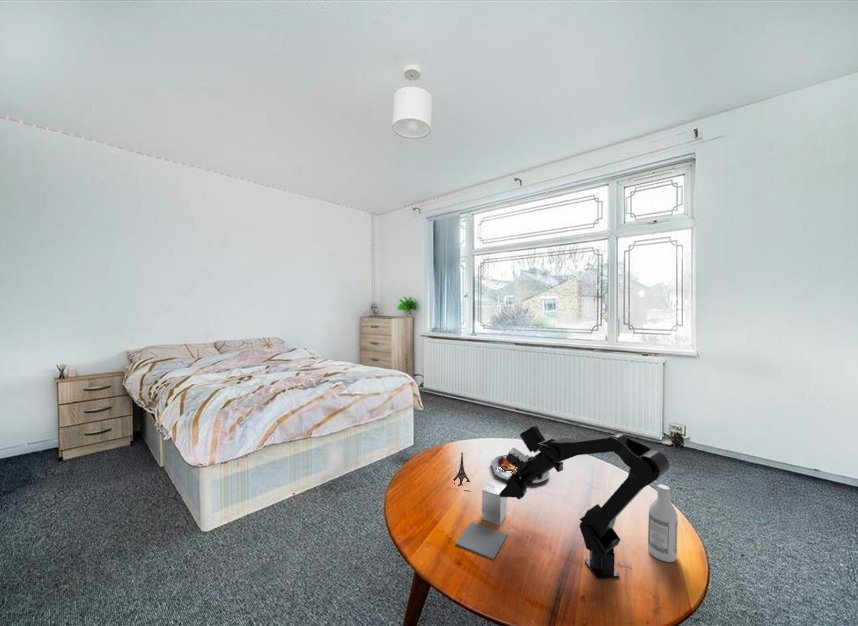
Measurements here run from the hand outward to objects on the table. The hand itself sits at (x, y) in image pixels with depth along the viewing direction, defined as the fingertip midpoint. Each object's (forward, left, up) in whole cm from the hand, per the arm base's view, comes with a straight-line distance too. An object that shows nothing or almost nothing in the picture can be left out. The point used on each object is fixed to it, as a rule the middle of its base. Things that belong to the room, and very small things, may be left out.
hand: (504, 489), depth 116 cm
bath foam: (-19, -41, -11) cm, 47 cm away
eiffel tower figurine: (+27, +10, -11) cm, 31 cm away
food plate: (+33, -17, -11) cm, 39 cm away
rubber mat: (-9, +10, -11) cm, 17 cm away
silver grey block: (+2, +3, -11) cm, 11 cm away
